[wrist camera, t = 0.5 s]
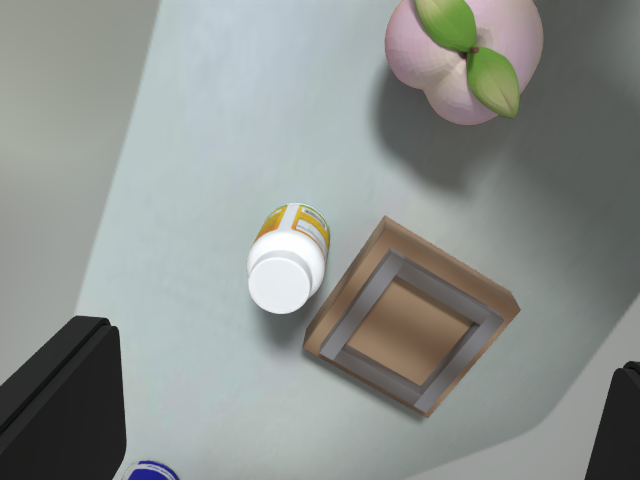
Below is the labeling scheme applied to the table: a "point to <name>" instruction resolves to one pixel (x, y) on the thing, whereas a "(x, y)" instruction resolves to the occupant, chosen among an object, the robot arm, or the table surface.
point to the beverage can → (149, 471)
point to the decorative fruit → (466, 54)
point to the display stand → (409, 318)
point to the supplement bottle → (288, 258)
